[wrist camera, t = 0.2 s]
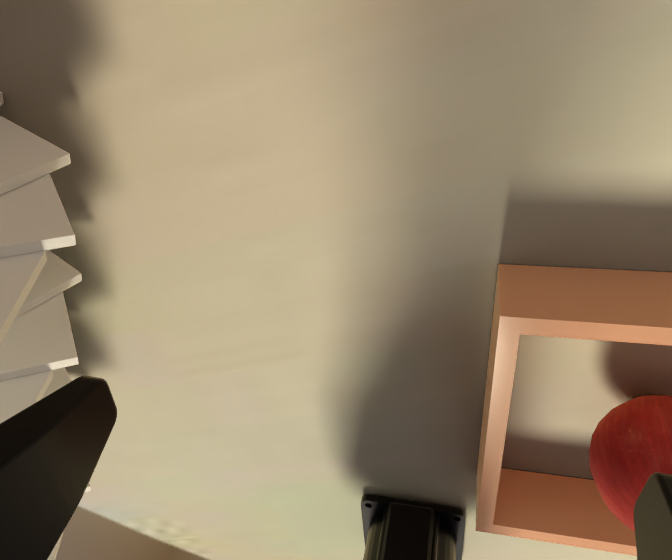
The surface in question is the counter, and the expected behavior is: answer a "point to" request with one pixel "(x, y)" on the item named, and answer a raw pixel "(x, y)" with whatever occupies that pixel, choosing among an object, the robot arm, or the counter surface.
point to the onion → (631, 451)
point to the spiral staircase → (32, 273)
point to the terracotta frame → (508, 323)
